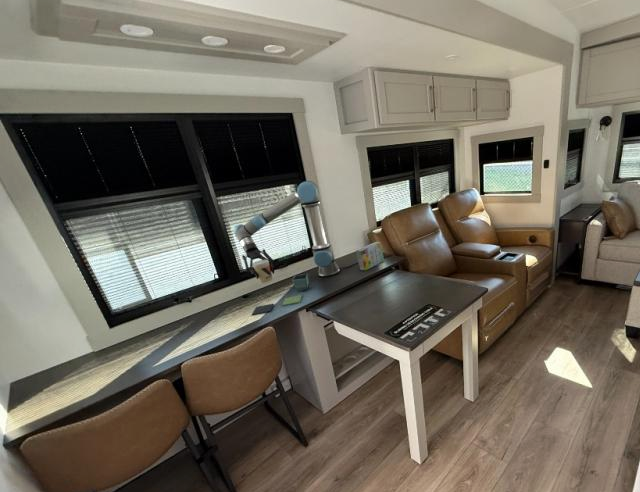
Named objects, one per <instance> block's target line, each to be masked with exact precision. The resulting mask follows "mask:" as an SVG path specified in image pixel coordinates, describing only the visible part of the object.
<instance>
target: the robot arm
mask: <svg viewBox="0 0 640 492" xmlns="http://www.w3.org/2000/svg"><path fill="white" fill-rule="evenodd" d="M320 204H321V200H320V196H319V187H318V185H317V184H316V183H315V182H314V181H311V180H305V181H301V183H300V184H299V185H298V186H297V188H296V189H294V192H293V193H291V194H289V195H288V196H286V197H284V198H283V199H281V200H280V201H278V202H276V203H275V204H273V205H272V206H270V207H269V208H267V209H266V210H264V211H262V212H260V213H259V214H258V215H255V216H254V217H252V218H251V219H250V220H248V221H247V222H246V223H245V224H242V223H240V224H237V225H234V227H233V233H234V236H235V237H236V239H237V240H238V242H239V244H240V246H241V248H242V249H243V251H244V253H245V254H242V256H241V259H242V260H243V262H244V266H245V270H246V271H247V272H248V271H250V273H251V274H252V275H253V276H255V278H256V279H257V280H258V279H259V276H258V274H257V273H256V271H255V269H254V268H253V266H252V265H253V263H254V260H256V259H258V260H268V261H269V265H270V269H271V274H272V275H273V274H275V270H274V259H273V258H272V256H270V255H269V254H268V252H266V250H265V249H262V250H261V249H259V247H258V246H257V244H256V242H255V241H254V238H252V236H253V235H254V234H256V233H257V232H258V231H260V230H261V229H263V228H264V227H265V226H266V225H269V224H270V223H271V222H272V221H274V220H276V219H277V218H279V217H280V216H282V215H284V214H286V213H287V212H289V211H291V210H292V209H293V208H295V207H297V206H298V205H300V206H301V207H303V208H304V211H305V215H306V216H305V217H306V219H307V224H308V228H309V233H310V236H311V240H312V244H313V245H312V246H311V251H312V254H313V262H314V264H315V266H318V271H317V272H318V273H317V274H318V276H319V277H321V278H328V277H333V276H335V275H338V274H339V273H340V272H341V270H340V269H348V268H350V267H353V266H355V265H359V263H358V262H355V263H353V264H351V265H348V266H341V267H339V265H338V264H337V262H336V260H335V255H334V250H333V246H332V243H331V241H327V237H326V232H325V228H324V224H323V220H322V216H321V211H320ZM390 256H392V253H390V254H387V255H385V256H383V257H384V259H385V258H388V257H390ZM247 258H248V259H249V264H248V260H247Z"/></svg>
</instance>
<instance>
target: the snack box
mask: <svg viewBox="0 0 640 492" xmlns="http://www.w3.org/2000/svg"><path fill="white" fill-rule="evenodd" d="M355 252H356V258H357V263H358V266H359V267H358V268H359V270H360V271H363V272H365V271H367V270H369V269H372V268H374V267H375V266H377V265H379V264H382V263H383V262H385V258H384V257H385V256H384V251H383V246H382V242H381V241H375V242H372V243H370V244H367V245H366V246H363V247H361V248H359V249H357V250H355Z"/></svg>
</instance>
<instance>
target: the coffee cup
mask: <svg viewBox="0 0 640 492" xmlns="http://www.w3.org/2000/svg"><path fill="white" fill-rule="evenodd" d="M252 268H254V269H255V271H256V273H257V274H258V276H259V279H257V280H258V282H259V283H260V284H265V283H269V282H271V281H273V273H272V271H271V269H270V265H269V261H268V260H261V259H259V260H257V261H255V262H254V261H253V264H252Z"/></svg>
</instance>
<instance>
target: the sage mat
mask: <svg viewBox="0 0 640 492" xmlns="http://www.w3.org/2000/svg"><path fill="white" fill-rule="evenodd" d="M302 297H303V296H302V294H299V295H294V296H290V297H285V298H284V300H283V302H282V304H281V306H282V307H285V306H289V305H295V304H300V303H301V300H302Z"/></svg>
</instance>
